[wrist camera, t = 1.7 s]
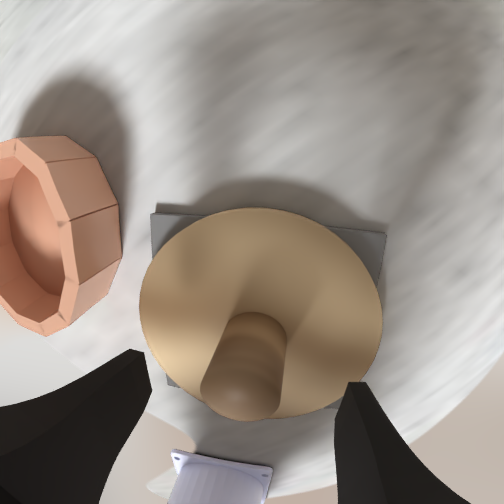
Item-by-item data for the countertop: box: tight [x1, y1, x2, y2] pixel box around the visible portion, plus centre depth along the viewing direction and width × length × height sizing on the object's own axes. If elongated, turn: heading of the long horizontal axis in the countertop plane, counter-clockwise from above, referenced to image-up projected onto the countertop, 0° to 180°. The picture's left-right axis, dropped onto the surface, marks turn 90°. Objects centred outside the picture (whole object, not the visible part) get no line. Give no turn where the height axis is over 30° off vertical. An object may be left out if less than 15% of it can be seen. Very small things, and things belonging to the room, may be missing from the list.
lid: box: [139, 207, 383, 422], centre depth 11 cm, size 11×11×4 cm
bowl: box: [0, 136, 122, 337], centre depth 12 cm, size 10×10×4 cm
